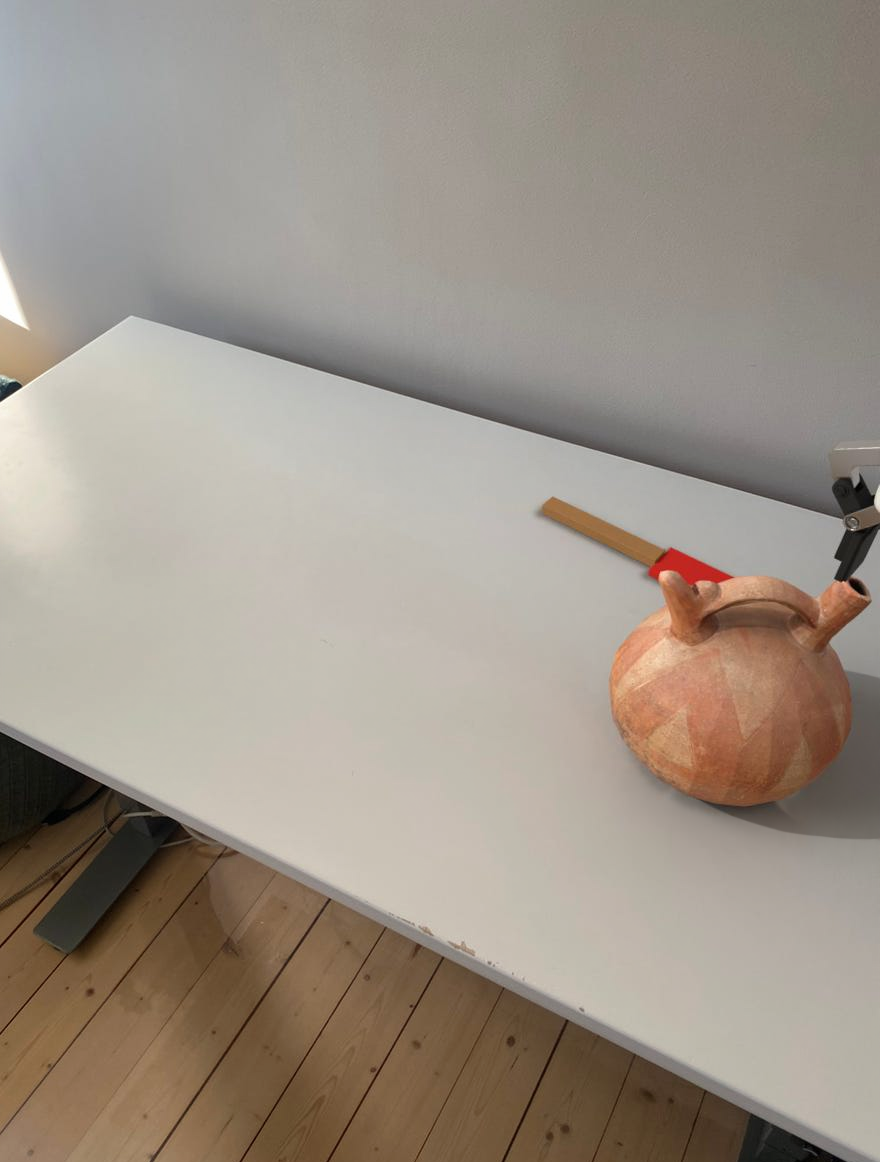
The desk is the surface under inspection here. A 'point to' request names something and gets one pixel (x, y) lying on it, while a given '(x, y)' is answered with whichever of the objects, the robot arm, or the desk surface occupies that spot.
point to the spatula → (633, 544)
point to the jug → (737, 686)
